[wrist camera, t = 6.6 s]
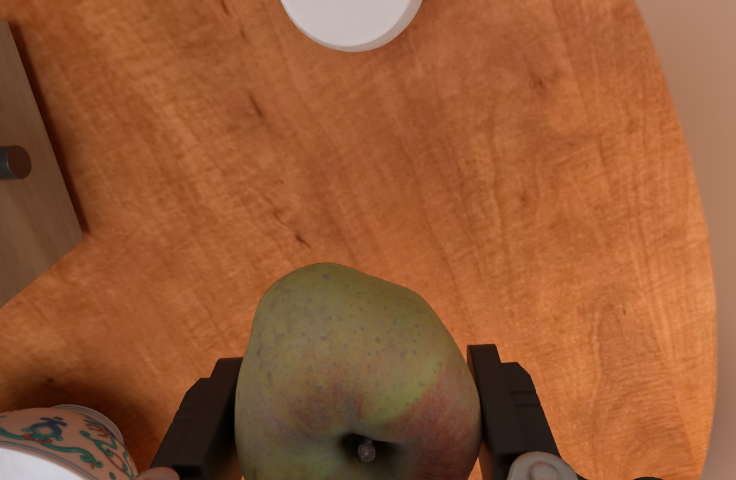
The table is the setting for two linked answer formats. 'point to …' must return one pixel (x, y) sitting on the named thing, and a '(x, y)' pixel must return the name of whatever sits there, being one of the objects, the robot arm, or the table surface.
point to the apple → (353, 384)
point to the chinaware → (62, 445)
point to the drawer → (28, 183)
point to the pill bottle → (351, 21)
